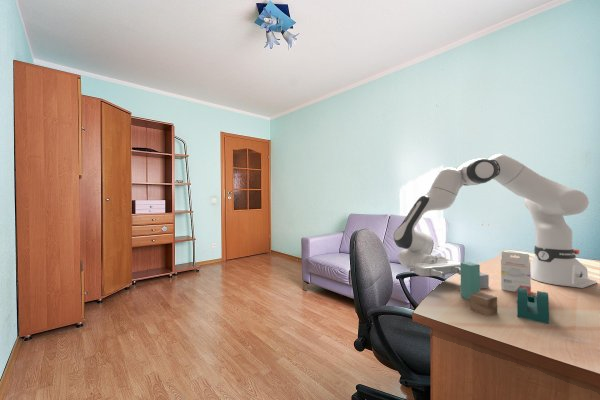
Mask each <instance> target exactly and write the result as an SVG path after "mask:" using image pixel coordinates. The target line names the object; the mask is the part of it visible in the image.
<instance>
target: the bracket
mask: <svg viewBox="0 0 600 400" xmlns="http://www.w3.org/2000/svg"><path fill="white" fill-rule="evenodd" d="M516 294H517V297H516V298H517V299H516V300H517V301H516V303H517V304H516V307H517V308H516V310H517V311H516V313H517V314H516V317H517V318H521V319H526V320H530V321H534V322H538V323H543V324H547V325H549V324H550V302H549V301H550V299H549V292H545V291H540V290H537V291H536V295H531V294H527V289H522V288H517V292H516Z"/></svg>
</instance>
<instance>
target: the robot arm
mask: <svg viewBox="0 0 600 400" xmlns="http://www.w3.org/2000/svg"><path fill="white" fill-rule="evenodd" d="M491 180H493V181H494V180H495V182H497V183H499V184H500V185H502V186H503V187H505V188H506V189H508V190H509V191H511V192H512V193H514V195H517V196H519V197H522V198H524V206H525V208H526V209H528V211H529V212H530V214H531V217H532V221H533V224H534V229H535V246H534V249H533V251H534V255H535V256H532V257H531V263H530V272H531V279H533V280H535V281H537V282H540V283H541V282H542V283H545V284H549V285H556V286H562V287H573V288H579V289H583V288H587V287H590V286H592V285H594V284H597V280H595V279H594V278H589V276H588V275H589V273H588V268H587V266H585V265H584V264H583V263H582V262H580V261H579V260H578V259H577V258H576V257H577V256H576V255H580V249H574V248H573V229H571V227H570V226H569V225H568V224H567V222H566V220H565V217H566V216H567V217H568V216H573V215H579V214H581V213H583V212H585V211H586V210H587V208H588V206H589V203H590V202H589V198H588V196H587V194H585V193H584V192H583V191H580V190H577V189H574V188H570V187H568V186H565V185H563V184H561V183H559V182H556V181H554V180H551V179H549V178H546V177H545V176H543V175H540V174H539V173H538V172H536V171H534V170H533V169H531V168H529V167H528V166H527V165H525V164H523V163H521V162H520V161H519V160H516V159H515V158H512V157H510V156H507V155H506V154H503V153H502V154H501V153H498V154H495V155H492V156H491V157H489V158H476V159H472V160H469V161H467V162H465V163H463V164H460V165H459V166H457V167H456V168H453V167H445V168H443V169H441V171H439V173H438V174H437V176H436V178H434V181H433V183H432V185H431V187H430V188H429V190H428V191H427V192H426V194H424V195H422V196H420V197H419V198H418V199H417V200H416V201H415V202H414V204H413V206H412V207H411V209H410V210H409V211H408V213H407V215H406V216H405V217H404V220H402V223H400V225H399V226H398V227H397V229H396V230H395V231H394V233H393V241H394V243H395V245H396V246H397V247H398V248H402V250H400V251H399V253H398V256H397V259H398V261H399V263H400V264H401V265H402V266H403V267H405V268H406V269H408V270H410V271H412V272H413V273H414V274H415V275H417V276H420V277H424V278H425V277H440V278H444V277H445V276H447V275H455V274H458V275H460V276H461V263H462V262H458V261H455V260H452V259H448V258H447V257H445V256H441V255H432V252H433V250H434V245H435V244H434V239H433V238H432V236H431V235H429V234H426V233H424V232H421V231H419V230H416V229H415V227H416V226H417V225H418V223H419V221H420V220H422V216H423V215H424V214H425V213H427V212H429V211H442V210H443V211H444V210H447V209H448V208H450V207H451V206H452V205H453V204H454V203H455V200H456V198H457V196H458V194H459V191H460V190H461V188H462V187H463V186H477V185H481V184H486V183H488V182H490V181H491Z"/></svg>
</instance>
